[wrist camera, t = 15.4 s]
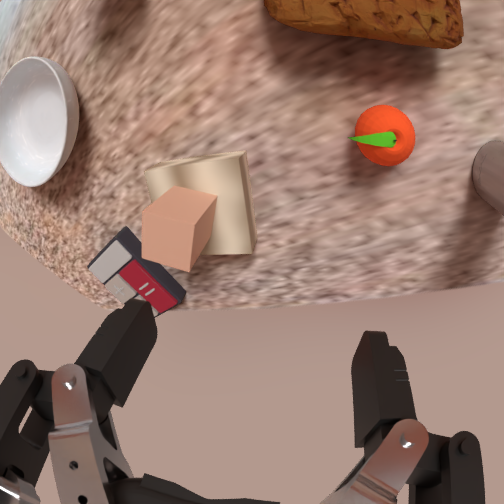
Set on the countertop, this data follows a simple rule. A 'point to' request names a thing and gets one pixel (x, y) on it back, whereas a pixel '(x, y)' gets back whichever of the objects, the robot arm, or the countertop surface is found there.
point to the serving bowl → (37, 120)
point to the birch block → (217, 183)
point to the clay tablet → (376, 19)
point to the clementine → (384, 135)
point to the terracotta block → (177, 227)
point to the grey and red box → (135, 274)
